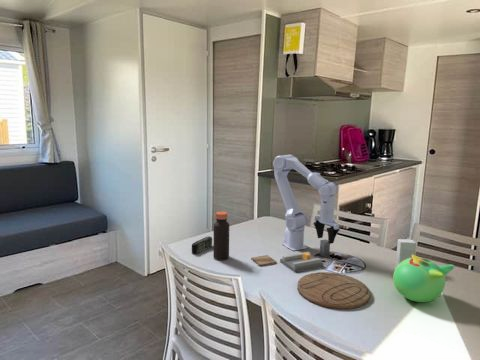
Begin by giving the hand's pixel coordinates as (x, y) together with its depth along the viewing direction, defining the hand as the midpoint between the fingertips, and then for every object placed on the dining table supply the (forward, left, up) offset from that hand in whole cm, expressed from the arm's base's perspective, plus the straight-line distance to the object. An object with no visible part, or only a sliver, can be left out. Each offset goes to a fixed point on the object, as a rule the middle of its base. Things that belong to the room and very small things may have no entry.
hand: (325, 240), depth 162 cm
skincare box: (+24, +22, -7) cm, 33 cm away
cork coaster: (-5, -28, -7) cm, 29 cm away
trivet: (+28, -18, -8) cm, 34 cm away
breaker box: (+4, -15, -7) cm, 17 cm away
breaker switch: (+4, -13, -5) cm, 14 cm away
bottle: (-16, -43, -7) cm, 46 cm away
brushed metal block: (0, 0, -7) cm, 7 cm away
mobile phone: (-29, -47, -8) cm, 56 cm away
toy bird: (+44, +6, -7) cm, 45 cm away
